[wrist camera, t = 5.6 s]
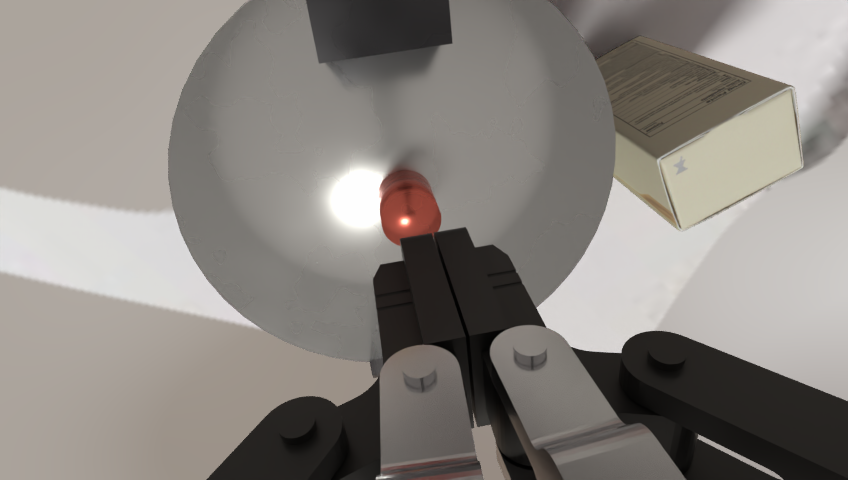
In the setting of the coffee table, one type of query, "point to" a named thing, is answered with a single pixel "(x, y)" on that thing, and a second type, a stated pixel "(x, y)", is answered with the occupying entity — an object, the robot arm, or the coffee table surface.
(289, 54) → the cooker lid
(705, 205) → the skincare box
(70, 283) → the coffee table surface
